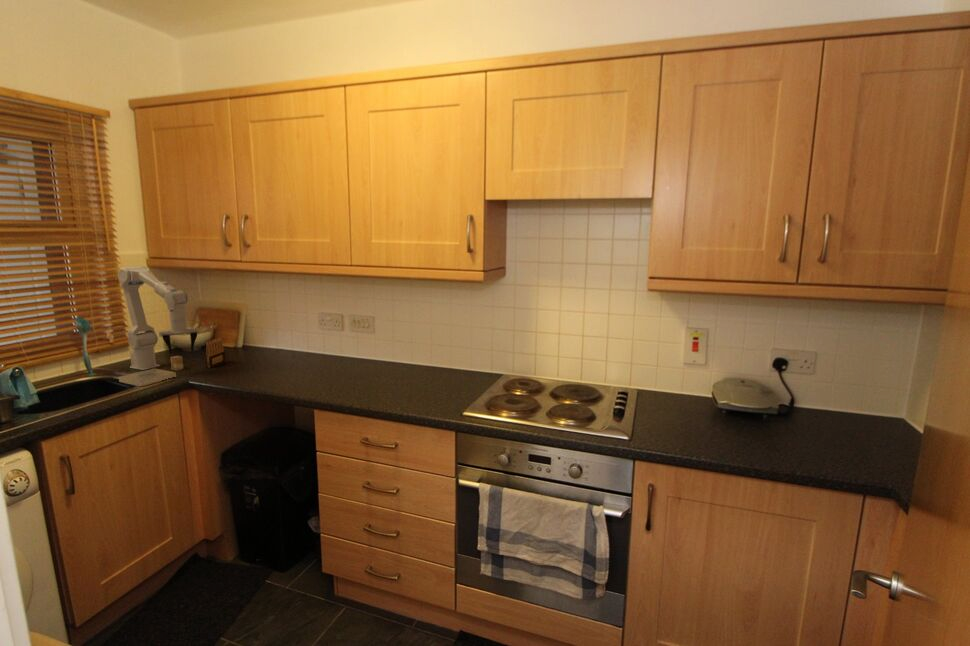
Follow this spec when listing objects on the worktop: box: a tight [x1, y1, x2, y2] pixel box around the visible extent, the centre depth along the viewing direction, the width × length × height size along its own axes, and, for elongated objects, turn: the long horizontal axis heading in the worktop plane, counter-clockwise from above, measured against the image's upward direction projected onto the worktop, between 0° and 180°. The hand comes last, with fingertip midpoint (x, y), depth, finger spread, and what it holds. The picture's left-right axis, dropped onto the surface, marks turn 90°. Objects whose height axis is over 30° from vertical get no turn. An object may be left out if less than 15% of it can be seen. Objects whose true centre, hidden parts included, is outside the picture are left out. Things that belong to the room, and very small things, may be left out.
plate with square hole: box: [118, 367, 177, 387], centre depth 202 cm, size 14×14×2 cm
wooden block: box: [170, 355, 184, 371], centre depth 217 cm, size 3×3×6 cm
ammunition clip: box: [205, 336, 227, 369], centre depth 223 cm, size 11×2×12 cm, turn 172°
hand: (181, 351), depth 210 cm, fingers open, 7 cm apart
